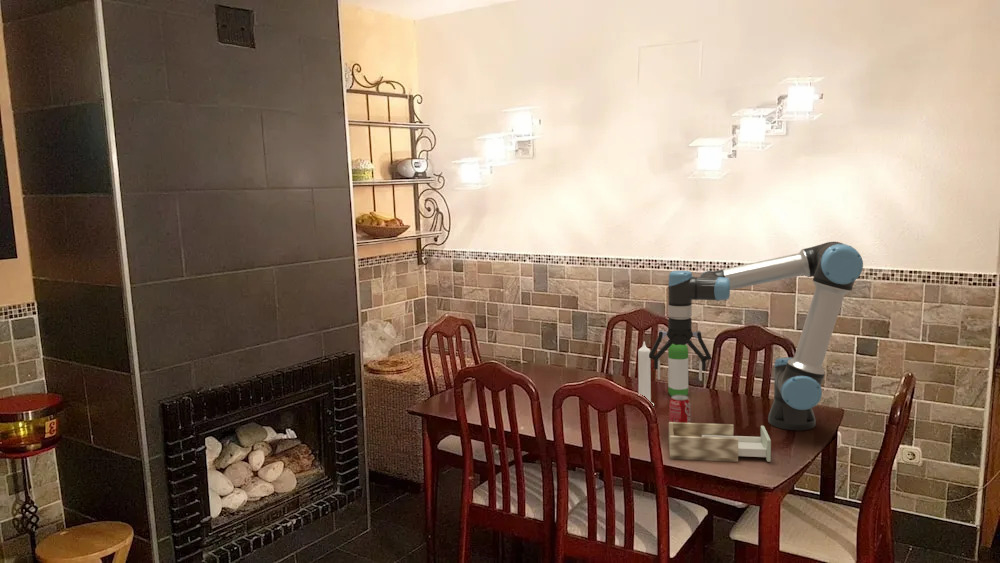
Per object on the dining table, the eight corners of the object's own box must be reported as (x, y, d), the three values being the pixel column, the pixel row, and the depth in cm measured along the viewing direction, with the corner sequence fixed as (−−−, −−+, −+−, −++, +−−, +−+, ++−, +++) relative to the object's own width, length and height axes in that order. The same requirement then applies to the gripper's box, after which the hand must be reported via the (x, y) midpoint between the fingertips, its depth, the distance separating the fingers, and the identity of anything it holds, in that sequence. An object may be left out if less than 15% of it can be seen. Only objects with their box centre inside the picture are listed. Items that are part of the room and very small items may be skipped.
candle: (631, 404, 273) (630, 340, 269) (646, 401, 275) (646, 338, 272) (642, 409, 266) (641, 344, 263) (657, 406, 269) (657, 342, 266)
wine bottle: (679, 391, 288) (679, 318, 284) (692, 396, 281) (692, 321, 277) (664, 394, 285) (663, 320, 281) (676, 399, 278) (676, 323, 274)
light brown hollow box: (732, 445, 228) (733, 424, 227) (738, 461, 214) (738, 439, 213) (668, 442, 232) (668, 422, 231) (669, 458, 218) (669, 436, 217)
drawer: (763, 445, 225) (764, 425, 224) (770, 461, 213) (770, 440, 212) (701, 443, 229) (701, 423, 228) (704, 458, 217) (704, 437, 216)
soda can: (688, 427, 245) (688, 393, 244) (692, 434, 238) (692, 400, 237) (668, 427, 246) (667, 394, 244) (670, 434, 239) (670, 400, 237)
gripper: (717, 315, 238) (717, 377, 241) (641, 314, 243) (642, 375, 246) (719, 319, 231) (719, 383, 234) (641, 318, 236) (641, 381, 239)
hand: (679, 379), depth 240 cm, fingers open, 13 cm apart
